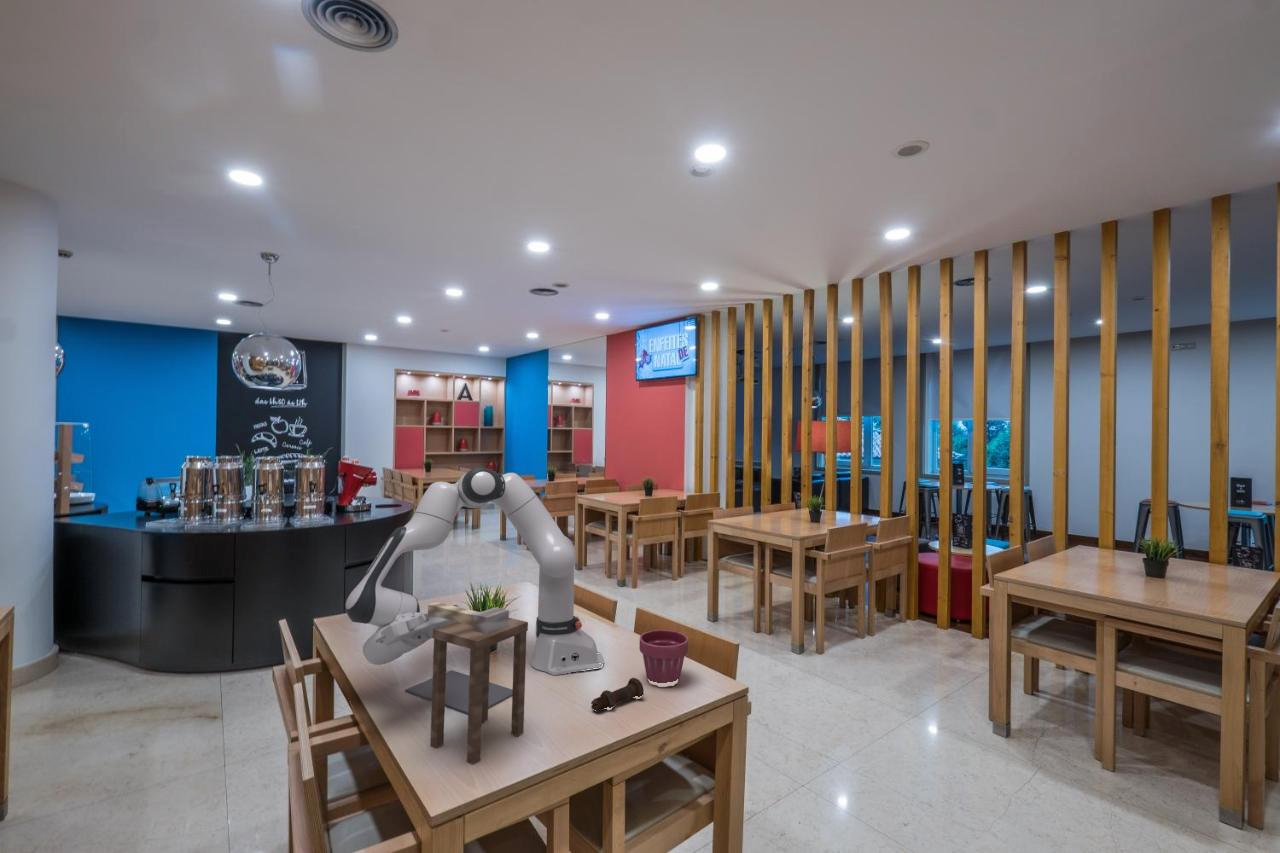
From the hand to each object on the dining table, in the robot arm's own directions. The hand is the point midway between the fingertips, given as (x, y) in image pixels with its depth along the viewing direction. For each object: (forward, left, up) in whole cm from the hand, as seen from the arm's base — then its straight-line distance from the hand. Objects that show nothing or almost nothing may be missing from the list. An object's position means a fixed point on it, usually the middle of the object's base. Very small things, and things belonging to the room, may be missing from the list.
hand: (442, 612), depth 138 cm
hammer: (-5, +4, -1) cm, 7 cm away
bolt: (-44, -5, -27) cm, 52 cm away
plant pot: (-60, -18, -27) cm, 68 cm away
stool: (-10, +9, -27) cm, 30 cm away
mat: (-3, -17, -27) cm, 32 cm away
